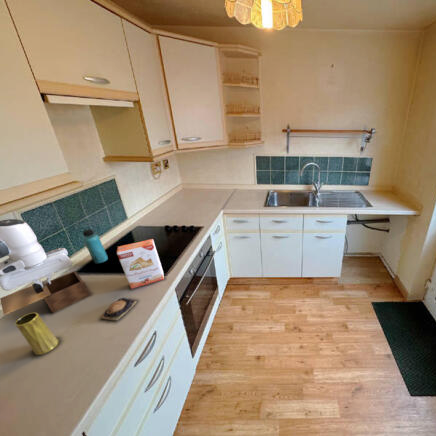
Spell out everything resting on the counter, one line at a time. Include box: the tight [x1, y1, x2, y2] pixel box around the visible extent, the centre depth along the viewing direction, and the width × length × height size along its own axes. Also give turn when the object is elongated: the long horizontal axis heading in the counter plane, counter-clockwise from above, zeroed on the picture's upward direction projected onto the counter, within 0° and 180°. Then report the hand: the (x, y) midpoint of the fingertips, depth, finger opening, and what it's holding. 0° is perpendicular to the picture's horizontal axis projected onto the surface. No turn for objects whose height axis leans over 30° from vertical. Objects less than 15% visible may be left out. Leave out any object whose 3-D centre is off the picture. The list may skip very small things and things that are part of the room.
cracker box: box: [116, 238, 165, 290], centre depth 107 cm, size 14×6×21 cm, turn 119°
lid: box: [0, 282, 51, 316], centre depth 91 cm, size 13×13×3 cm
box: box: [43, 270, 91, 314], centre depth 100 cm, size 13×13×8 cm
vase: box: [14, 312, 59, 356], centre depth 78 cm, size 6×6×14 cm
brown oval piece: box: [101, 297, 137, 322], centre depth 95 cm, size 11×8×4 cm
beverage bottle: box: [82, 229, 109, 264], centre depth 121 cm, size 6×7×20 cm
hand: (46, 285), depth 95 cm, fingers closed
